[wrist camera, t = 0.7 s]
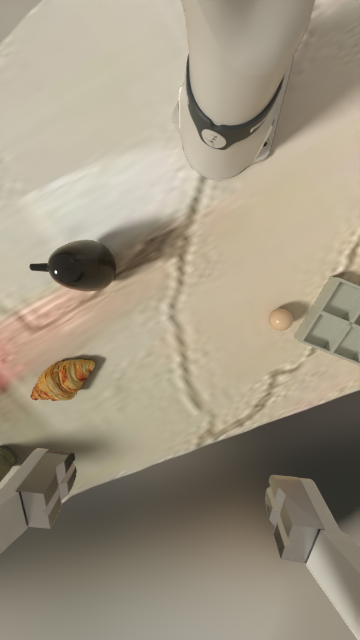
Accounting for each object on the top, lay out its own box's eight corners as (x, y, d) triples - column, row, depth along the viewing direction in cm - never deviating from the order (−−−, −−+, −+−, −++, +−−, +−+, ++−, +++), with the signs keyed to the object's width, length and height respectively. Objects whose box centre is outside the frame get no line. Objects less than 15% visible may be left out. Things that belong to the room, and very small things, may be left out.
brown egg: (272, 303, 46) (280, 308, 42) (291, 310, 46) (302, 316, 42) (262, 321, 48) (269, 328, 43) (280, 329, 48) (290, 336, 43)
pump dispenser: (74, 240, 45) (17, 232, 31) (120, 242, 45) (85, 235, 30) (79, 286, 48) (29, 299, 34) (122, 289, 48) (90, 303, 33)
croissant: (96, 345, 56) (73, 344, 49) (109, 379, 54) (87, 384, 46) (40, 379, 60) (11, 383, 53) (50, 412, 58) (21, 421, 50)
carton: (330, 276, 44) (339, 277, 41) (392, 302, 44) (405, 305, 42) (293, 336, 48) (299, 342, 45) (350, 359, 49) (360, 365, 46)
